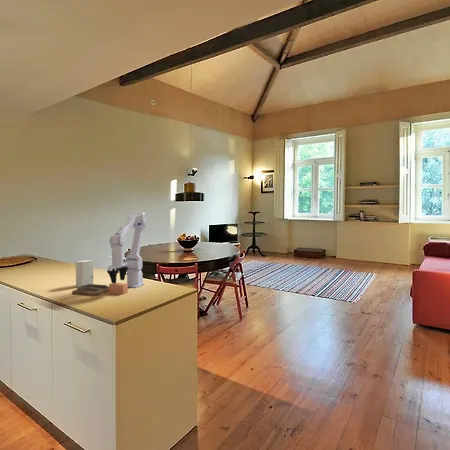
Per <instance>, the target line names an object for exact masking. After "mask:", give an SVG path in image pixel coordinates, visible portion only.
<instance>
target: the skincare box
mask: <svg viewBox="0 0 450 450" xmlns="http://www.w3.org/2000/svg"><path fill="white" fill-rule="evenodd" d="M85 284H94V260H91V259H89V260H88V259H85V260H84V259H83V260H78V261H75V286H76V287H79V286H82V285H85Z"/></svg>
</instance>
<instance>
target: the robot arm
mask: <svg viewBox="0 0 450 450" xmlns="http://www.w3.org/2000/svg"><path fill="white" fill-rule="evenodd" d="M147 222H148V217H147V214H146V213H145V212H129V214H128V215H127V220H126V221H125V223H124V225H122V226H120V228H119V229H118V230H117V231H116V232H115V234H112V235H111V236H110V237H109V241H108V242H109V246H110V249H111V258H112V259H111V261H112V262H111V263H112V264H110V265H109V266H107V270H106V272H107V274H108V276H109V278H110V282H111V283H117V276H118V273H119V280H120V281H125V280H126V284H128V288H138V287H140V286H142V285H145V283H144V281H143V280H144V277H143V275H144V274H143V271H142V269H143V258H142V257H141V256H140V251H141V248H142V247H141V245H142V241H143V240H142V239H143V235H144V232H145V231H144V229H145V228H146V227H147ZM131 228H133V229H134V232H133V237H132V238H133V239H132V243H131V248H130V253H129V254H128V255H126V256H125V258H124V245H125V243H126V239H127V237H128V236H129V234H130V229H131Z"/></svg>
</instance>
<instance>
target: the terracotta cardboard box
mask: <svg viewBox="0 0 450 450" xmlns="http://www.w3.org/2000/svg"><path fill="white" fill-rule="evenodd" d="M108 287H109V292H108V293H109V294H115V295H125V294H128V292H129V291H128V288H129V287H128V284H127V283H123V282H116V283H112V282H111V283H109V284H108Z"/></svg>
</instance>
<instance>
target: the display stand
mask: <svg viewBox="0 0 450 450" xmlns="http://www.w3.org/2000/svg"><path fill="white" fill-rule="evenodd" d="M71 293H72V295H73V294H74V295H81V296H82V295H84V296H92V297H98V296H101V295H103V294H105V293H109V286H108V285H106V284H97V283H96V284H95V283H93V284H85V285H82V286H76V289H74V290H72V292H71Z"/></svg>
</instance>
